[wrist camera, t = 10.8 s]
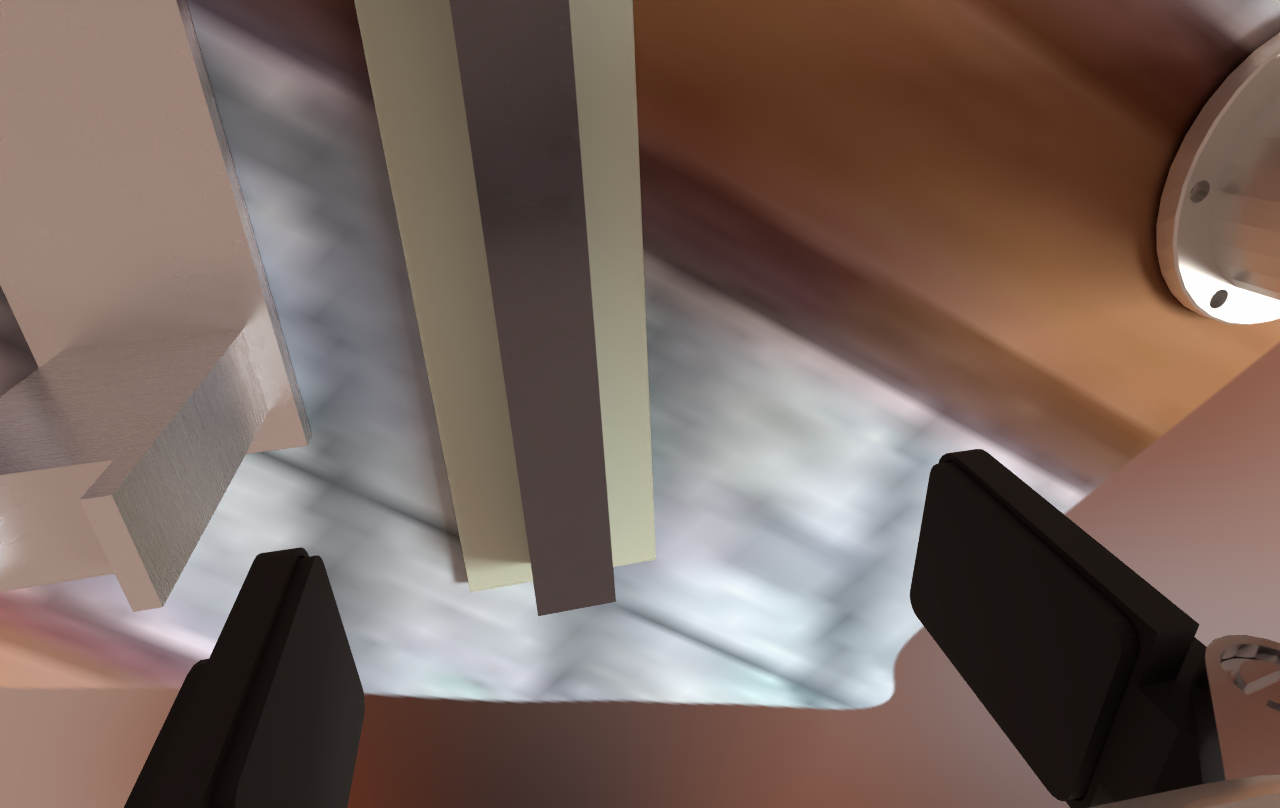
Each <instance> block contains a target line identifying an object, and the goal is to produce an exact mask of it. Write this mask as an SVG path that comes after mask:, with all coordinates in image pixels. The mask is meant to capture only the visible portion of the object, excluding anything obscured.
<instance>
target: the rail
mask: <svg viewBox="0 0 1280 808" xmlns="http://www.w3.org/2000/svg"><path fill="white" fill-rule="evenodd" d="M449 1H450V7H451V14H452V21H453V28H454V35H455V42H456V49H457V56H458V63H459V70H460V77H461V84H462V91H463V98H464V105H465V111H466V118H467V125H468V132H469V139H470V146H471V153H472V160H473V167H474V174H475V181H476V188H477V195H478V202H479V208H480V215H481V222H482V229H483V236H484V243H485V250H486V257H487V264H488V271H489V278H490V285H491V292H492V299H493V306H494V312H495V319H496V326H497V333H498V340H499V347H500V354H501V361H502V368H503V375H504V382H505V389H506V396H507V403H508V409H509V416H510V423H511V430H512V437H513V444H514V451H515V458H516V465H517V472H518V479H519V486H520V493H521V500H522V507H523V513H524V520H525V527H526V534H527V541H528V548H529V555H530V562H531V569H532V576H533V583H534V590H535V597H536V604H537V610H538V616H541V615H547V614H552V613H557V612H563V611H568V610H573V609H579V608H584V607H589V606H595V605H600V604H606V603H611V602H616V599H615V586H614V573H613V560H612V547H611V534H610V522H609V509H608V496H607V483H606V470H605V457H604V445H603V432H602V419H601V406H600V393H599V380H598V368H597V355H596V342H595V329H594V316H593V303H592V291H591V278H590V265H589V252H588V239H587V226H586V213H585V201H584V188H583V175H582V162H581V149H580V136H579V124H578V111H577V98H576V85H575V72H574V59H573V47H572V34H571V21H570V8H569V0H449Z"/></svg>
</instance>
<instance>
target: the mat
mask: <svg viewBox="0 0 1280 808" xmlns="http://www.w3.org/2000/svg"><path fill="white" fill-rule="evenodd" d="M354 2H355V7H356V12H357V17H358V22H359V27H360V32H361V37H362V42H363V48H364V53H365V58H366V63H367V68H368V73H369V78H370V83H371V88H372V93H373V99H374V104H375V109H376V114H377V119H378V124H379V129H380V134H381V139H382V144H383V149H384V155H385V160H386V165H387V170H388V175H389V180H390V185H391V190H392V195H393V200H394V205H395V211H396V216H397V221H398V226H399V231H400V236H401V241H402V246H403V251H404V256H405V262H406V267H407V272H408V277H409V282H410V287H411V292H412V297H413V302H414V307H415V312H416V318H417V323H418V328H419V333H420V338H421V343H422V348H423V353H424V358H425V363H426V369H427V374H428V379H429V384H430V389H431V394H432V399H433V404H434V409H435V414H436V419H437V425H438V430H439V435H440V440H441V445H442V450H443V455H444V460H445V465H446V470H447V476H448V481H449V486H450V491H451V496H452V501H453V506H454V511H455V516H456V521H457V526H458V532H459V537H460V542H461V547H462V552H463V557H464V562H465V567H466V572H467V577H468V582H469V588H470V592H475V591H480V590H486V589H492V588H497V587H503V586H509V585H514V584H520V583H525V582H531V581H533V576H532V569H531V562H530V555H529V548H528V541H527V534H526V527H525V520H524V513H523V507H522V500H521V493H520V486H519V479H518V472H517V465H516V458H515V451H514V444H513V437H512V430H511V423H510V416H509V409H508V403H507V396H506V389H505V382H504V375H503V368H502V361H501V354H500V347H499V340H498V333H497V326H496V319H495V312H494V306H493V299H492V292H491V285H490V278H489V271H488V264H487V257H486V250H485V243H484V236H483V229H482V222H481V215H480V208H479V202H478V195H477V188H476V181H475V174H474V167H473V160H472V153H471V146H470V139H469V132H468V125H467V118H466V111H465V105H464V98H463V91H462V84H461V77H460V70H459V63H458V56H457V49H456V42H455V35H454V28H453V21H452V14H451V7H450V1H449V0H354ZM569 8H570V21H571V34H572V47H573V59H574V72H575V85H576V98H577V111H578V124H579V136H580V149H581V162H582V175H583V188H584V201H585V213H586V226H587V239H588V252H589V265H590V278H591V291H592V303H593V316H594V329H595V342H596V355H597V368H598V380H599V393H600V406H601V419H602V432H603V445H604V457H605V470H606V483H607V496H608V509H609V522H610V534H611V547H612V560H613V567H616V566H621V565H627V564H633V563H638V562H644V561H650V560H655V559H656V551H655V527H654V503H653V479H652V455H651V431H650V407H649V383H648V359H647V335H646V311H645V287H644V263H643V239H642V215H641V191H640V167H639V143H638V118H637V94H636V70H635V46H634V22H633V0H569Z"/></svg>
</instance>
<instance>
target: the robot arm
mask: <svg viewBox="0 0 1280 808" xmlns="http://www.w3.org/2000/svg"><path fill="white" fill-rule="evenodd" d="M1157 255H1158V260H1159V264H1160V269H1161V273H1162V276H1163V278H1164V280H1165V282H1166V284H1167V286H1168V288H1169V290H1170V292H1171V293H1172V294H1173V295H1174V296H1175V297H1176V298H1177V299H1178V300H1179V301H1180V302H1181V303H1182V305H1183V306H1185V307H1187V308H1188V309H1190V310H1192V311H1194V312H1196V313H1197V314H1199V315H1202V316H1205V317H1208V318H1211V319H1214V320H1217V321H1220V322H1223V323H1225V324H1236V325H1252V324H1259V323H1266V322H1270V321H1273V320H1276V319H1279V318H1280V32H1279V33H1278V34H1277V35H1275V36H1274V37H1273V38H1271V39H1270V40H1268V41H1267V42H1266V43H1264V44H1263V45H1262V46H1260V47H1259V48H1257V49H1256V50H1255V51H1254V52H1253V53H1252V54H1251V55H1250V56H1249V57H1248V58H1246V59H1245V60H1244V61H1243V62H1242V63H1241V64H1240V65H1239V66H1238V67H1237V68H1236V69H1235V70H1234V71H1233V72H1232V73H1231V74H1230V75H1229V76H1228V77H1227V78H1226V80H1225V81H1224V82H1223V83H1222V84H1221V86H1220V87H1219V88H1218V89H1217V91H1216V92H1215V93H1214V94H1213V95H1212V97H1211V98H1210V99H1209V100H1208V102H1207V103H1206V104H1205V105H1204V107H1203V109H1202V110H1201V112H1200V113H1199V115H1198V116H1197V118H1196V120H1195V121H1194V123H1193V124H1192V126H1191V128H1190V129H1189V131H1188V132H1187V134H1186V135H1185V138H1184V140H1183V142H1182V144H1181V146H1180V148H1179V150H1178V152H1177V154H1176V157H1175V159H1174V161H1173V163H1172V165H1171V168H1170V171H1169V174H1168V177H1167V180H1166V183H1165V186H1164V189H1163V193H1162V196H1161V201H1160V207H1159V213H1158V219H1157ZM910 600H911V605H912V608H913V610H914V613H915V614H916V616H917V617H918V619H919V620H920V621H921V623H922V624H923V625H924V627H925V628H926V629H927V631H928V632H929V633H930V635H931V636H932V637H933V639H934V640H935V641H936V643H937V644H938V645H939V647H940V648H941V649H942V651H943V652H944V653H945V654H946V656H947V657H948V658H949V660H950V661H951V662H952V664H953V665H954V666H955V668H956V669H957V670H958V672H959V673H960V674H961V676H962V677H963V678H964V680H965V681H966V682H967V684H968V685H969V686H970V688H971V689H972V690H973V692H974V693H975V694H976V696H977V697H978V698H979V700H980V701H981V702H982V703H983V705H984V706H985V708H986V709H987V710H988V712H989V713H990V714H991V715H992V717H993V718H994V719H995V721H996V722H997V723H998V725H999V726H1000V727H1001V729H1002V730H1003V732H1004V733H1005V734H1006V735H1007V737H1008V738H1009V739H1010V741H1011V742H1012V743H1013V745H1014V746H1015V747H1016V749H1017V750H1018V751H1019V753H1020V754H1021V755H1022V757H1023V758H1024V759H1025V761H1026V762H1027V763H1028V765H1029V766H1030V767H1031V769H1032V770H1033V771H1034V773H1035V774H1036V775H1037V777H1038V778H1039V779H1040V780H1041V782H1042V783H1043V785H1044V786H1045V787H1046V788H1047V790H1048V791H1049V792H1050V793H1051V794H1052V796H1054V797H1055V798H1056V799H1058V800H1060V801H1066V802H1067V804H1068V805H1069V806H1070V808H1280V643H1278V642H1275V641H1271V640H1269V639H1264V638H1259V637H1254V636H1248V635H1227V636H1223V637H1220V638H1217V639H1214V640H1213V641H1212V642H1211V643H1210V644H1209V645H1208V646H1207V647H1206V646H1205V645H1203V644H1202V643H1201V642H1200V641H1198V640H1197V639H1196V638H1195V637H1194V636H1195V634H1196V631H1197V629H1198V626H1199V624H1198V623H1197V622H1196V621H1194V620H1193V619H1192V618H1191V617H1189V616H1188V615H1187V614H1186V613H1184V612H1183V611H1182V610H1181V609H1180V608H1178V607H1177V606H1176V605H1174V604H1173V603H1172V602H1171V601H1170V600H1168V599H1167V598H1166V597H1165V596H1163V595H1162V594H1161V593H1160V592H1159V591H1157V590H1156V589H1155V588H1154V587H1152V586H1151V585H1150V584H1149V583H1148V582H1146V581H1145V580H1144V579H1143V578H1141V577H1140V576H1139V575H1137V574H1136V573H1135V572H1134V571H1133V570H1131V569H1130V568H1129V567H1128V566H1126V565H1125V564H1124V563H1123V562H1122V561H1120V560H1119V559H1118V558H1117V557H1115V556H1114V555H1113V554H1112V553H1111V552H1109V551H1108V550H1107V549H1106V548H1104V547H1103V546H1102V545H1101V544H1100V543H1098V542H1097V541H1096V540H1094V539H1093V538H1092V537H1091V536H1090V535H1088V534H1087V533H1086V532H1085V531H1083V530H1082V529H1081V528H1080V527H1079V526H1077V525H1076V524H1075V523H1074V522H1072V521H1071V520H1070V519H1069V518H1067V517H1066V516H1065V515H1064V514H1063V513H1061V512H1060V511H1059V510H1058V509H1056V508H1055V507H1054V506H1053V505H1051V504H1050V503H1049V502H1048V501H1047V500H1045V499H1044V498H1043V497H1042V496H1040V495H1039V494H1038V493H1037V492H1035V491H1034V490H1033V489H1032V488H1031V487H1029V486H1028V485H1027V484H1026V483H1024V482H1023V481H1022V480H1021V479H1019V478H1018V477H1017V476H1016V475H1015V474H1013V473H1012V472H1011V471H1010V470H1008V469H1007V468H1006V467H1005V466H1003V465H1002V464H1001V463H1000V462H999V461H997V460H996V459H995V458H994V457H992V456H991V455H990V454H989V453H987V452H986V451H984V450H982V449H974V450H968V451H961V452H954V453H947V454H945V455H943V456H942V457H941V459H940V460H939V464H936V465H934V466H933V467H932V469H931V472H930V477H929V483H928V489H927V495H926V500H925V506H924V512H923V518H922V524H921V530H920V536H919V542H918V548H917V554H916V560H915V566H914V572H913V578H912V584H911V590H910ZM364 706H365V705H364V692H363V688H362V685H361V682H360V678H359V675H358V672H357V669H356V665H355V662H354V659H353V656H352V653H351V649H350V646H349V643H348V640H347V636H346V633H345V630H344V627H343V624H342V620H341V617H340V614H339V611H338V608H337V604H336V601H335V598H334V595H333V591H332V588H331V585H330V582H329V579H328V575H327V572H326V569H325V566H324V563H323V560H322V559H321V557H320V556H311V557H309V555H308V553H307V552H306V550H305V549H304V548H294V549H288V550H281V551H274V552H267V553H261V554H259V555H257V556H256V558H255V559H254V561H253V564H252V566H251V568H250V570H249V572H248V575H247V577H246V579H245V581H244V583H243V586H242V588H241V590H240V592H239V594H238V597H237V599H236V601H235V603H234V605H233V608H232V610H231V612H230V614H229V616H228V619H227V621H226V623H225V625H224V627H223V630H222V632H221V634H220V636H219V638H218V641H217V643H216V645H215V647H214V649H213V652H212V654H211V656H210V658H209V659H205V660H200V661H199V662H197V663H196V664H195V665H193V667H192V668H191V670H190V672H189V673H188V675H187V676H186V678H185V681H184V683H183V685H182V687H181V689H180V691H179V693H178V695H177V697H176V699H175V702H174V704H173V706H172V708H171V710H170V712H169V714H168V716H167V719H166V720H165V723H164V725H163V727H162V729H161V731H160V733H159V735H158V737H157V739H156V741H155V743H154V746H153V748H152V750H151V752H150V754H149V756H148V758H147V760H146V762H145V765H144V767H143V769H142V771H141V773H140V775H139V777H138V779H137V781H136V783H135V785H134V787H133V790H132V792H131V794H130V796H129V798H128V800H127V802H126V804H125V806H124V808H347V805H348V800H349V794H350V789H351V783H352V778H353V773H354V767H355V761H356V756H357V750H358V745H359V740H360V734H361V729H362V723H363V718H364Z"/></svg>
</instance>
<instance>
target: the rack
mask: <svg viewBox="0 0 1280 808" xmlns="http://www.w3.org/2000/svg"><path fill="white" fill-rule="evenodd" d="M0 286H1V288H2V290H3V292H4V294H5V296H6V298H7V301H8V303H9V305H10V307H11V309H12V311H13V313H14V316H15V318H16V320H17V322H18V324H19V326H20V328H21V331H22V333H23V335H24V337H25V339H26V341H27V343H28V346H29V348H30V350H31V352H32V354H33V356H34V358H35V361H36V363H37V365H38V367H39V368H38V369H37V370H36V371H34V372H33V373H32V374H30V375H29V376H28V377H26V378H25V379H24V380H22V381H21V382H20V383H18V384H17V385H16V386H14V387H13V388H12V389H10V390H9V391H8V392H6V393H5V394H4V395H2V396H1V397H0V592H1V591H7V590H14V589H20V588H26V587H32V586H39V585H45V584H51V583H58V582H64V581H70V580H76V579H83V578H89V577H95V576H102V575H108V574H114V573H115V575H116V577H117V579H118V581H119V583H120V585H121V587H122V589H123V592H124V594H125V596H126V598H127V600H128V602H129V604H130V606H131V608H132V610H133V612H136V611H142V610H148V609H154V608H160V607H163V606H164V604H165V602H166V600H167V598H168V597H169V595H170V593H171V591H172V589H173V587H174V585H175V584H176V582H177V580H178V578H179V576H180V574H181V573H182V571H183V569H184V567H185V565H186V563H187V561H188V560H189V558H190V556H191V554H192V552H193V550H194V549H195V547H196V545H197V543H198V541H199V539H200V537H201V536H202V534H203V532H204V530H205V528H206V526H207V525H208V523H209V521H210V519H211V517H212V515H213V514H214V512H215V510H216V508H217V506H218V504H219V502H220V501H221V499H222V497H223V495H224V493H225V491H226V490H227V488H228V486H229V484H230V482H231V480H232V478H233V477H234V475H235V473H236V471H237V469H238V467H239V466H240V464H241V462H242V460H243V458H244V456H245V454H249V453H256V452H263V451H270V450H278V449H285V448H292V447H300V446H307V445H308V443H309V441H310V438H311V436H312V434H311V430H310V427H309V423H308V420H307V416H306V413H305V409H304V406H303V403H302V399H301V396H300V392H299V389H298V385H297V382H296V378H295V375H294V372H293V368H292V365H291V361H290V358H289V354H288V351H287V347H286V344H285V340H284V337H283V334H282V330H281V327H280V323H279V320H278V316H277V313H276V309H275V306H274V302H273V299H272V296H271V292H270V289H269V285H268V282H267V278H266V275H265V271H264V268H263V265H262V261H261V258H260V254H259V251H258V247H257V244H256V240H255V237H254V233H253V230H252V227H251V223H250V220H249V216H248V213H247V209H246V206H245V202H244V199H243V196H242V192H241V189H240V185H239V182H238V178H237V175H236V171H235V168H234V164H233V161H232V158H231V154H230V151H229V147H228V144H227V140H226V137H225V133H224V130H223V127H222V123H221V120H220V116H219V113H218V109H217V106H216V102H215V99H214V95H213V92H212V89H211V85H210V82H209V78H208V75H207V71H206V68H205V64H204V61H203V58H202V54H201V51H200V47H199V44H198V40H197V37H196V33H195V30H194V26H193V23H192V20H191V16H190V13H189V9H188V6H187V2H186V0H0Z"/></svg>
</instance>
